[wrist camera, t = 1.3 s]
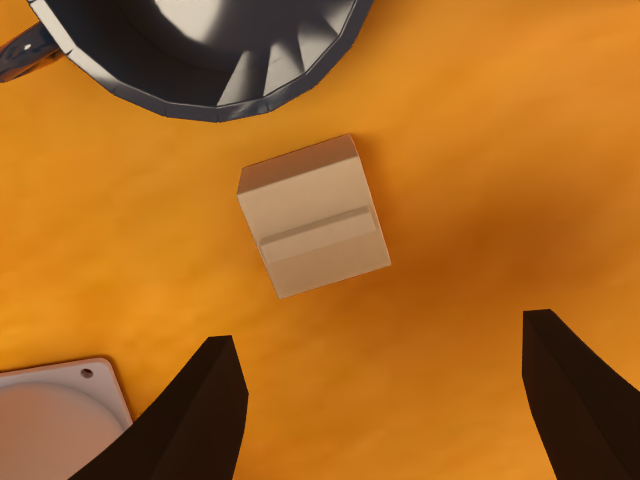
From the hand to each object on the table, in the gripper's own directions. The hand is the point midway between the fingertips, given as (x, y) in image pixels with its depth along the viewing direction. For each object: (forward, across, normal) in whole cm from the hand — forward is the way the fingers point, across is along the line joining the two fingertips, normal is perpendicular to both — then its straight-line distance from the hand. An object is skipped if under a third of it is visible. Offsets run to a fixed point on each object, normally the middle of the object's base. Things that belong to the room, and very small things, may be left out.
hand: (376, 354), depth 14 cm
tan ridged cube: (+10, +2, 0) cm, 10 cm away
